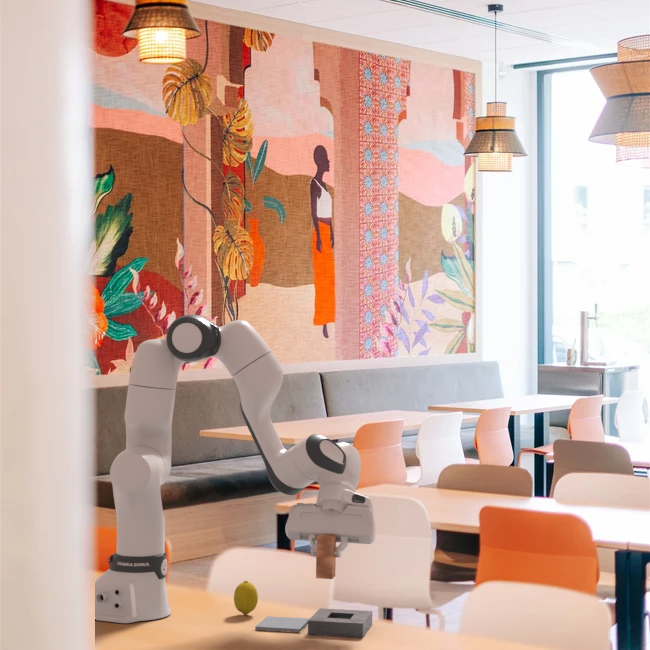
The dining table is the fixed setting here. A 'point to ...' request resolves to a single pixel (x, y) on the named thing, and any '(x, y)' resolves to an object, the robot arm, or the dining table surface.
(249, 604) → the lemon
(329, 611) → the collar block
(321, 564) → the peg
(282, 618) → the mat
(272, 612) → the dining table surface
